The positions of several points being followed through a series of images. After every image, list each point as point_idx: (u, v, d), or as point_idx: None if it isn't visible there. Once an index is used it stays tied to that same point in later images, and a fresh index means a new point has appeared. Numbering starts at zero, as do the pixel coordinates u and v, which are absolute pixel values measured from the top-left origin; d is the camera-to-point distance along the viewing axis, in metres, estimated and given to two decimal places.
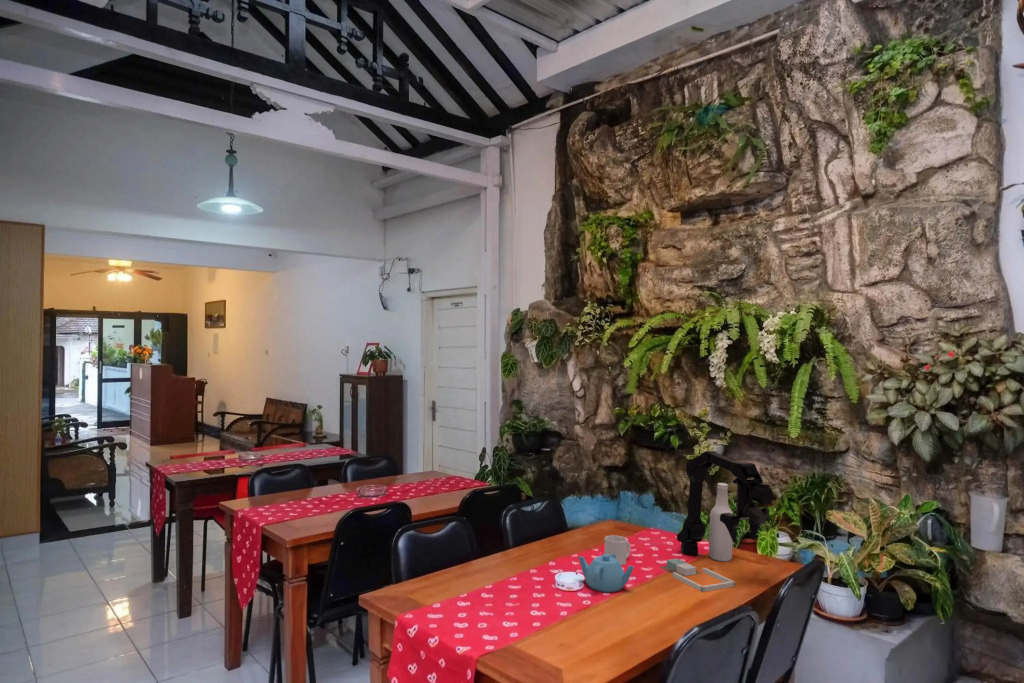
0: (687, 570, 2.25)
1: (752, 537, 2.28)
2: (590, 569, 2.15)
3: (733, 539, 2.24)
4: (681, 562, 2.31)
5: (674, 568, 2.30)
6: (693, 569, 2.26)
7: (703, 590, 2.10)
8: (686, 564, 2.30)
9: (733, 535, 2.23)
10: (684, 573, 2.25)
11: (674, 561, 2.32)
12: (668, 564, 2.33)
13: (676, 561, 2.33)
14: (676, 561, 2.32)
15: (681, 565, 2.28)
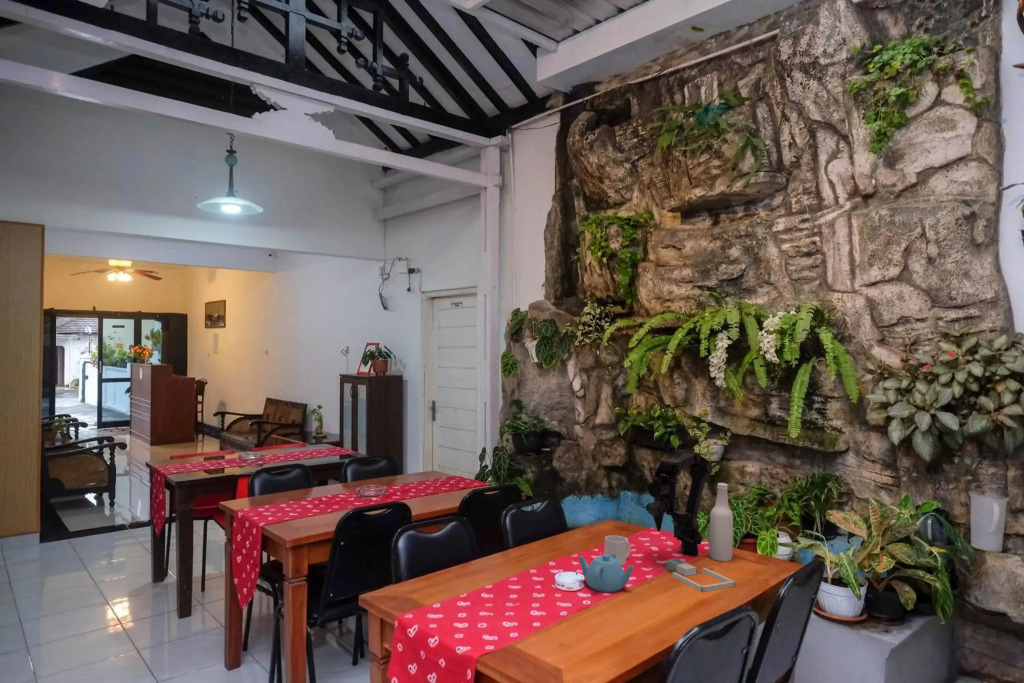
0: (687, 570, 2.25)
1: None
2: (590, 569, 2.15)
3: None
4: (681, 562, 2.31)
5: (674, 568, 2.30)
6: (693, 569, 2.26)
7: (703, 590, 2.10)
8: (686, 564, 2.30)
9: None
10: (684, 573, 2.25)
11: (674, 561, 2.32)
12: (668, 564, 2.33)
13: (676, 561, 2.33)
14: (676, 561, 2.32)
15: (681, 565, 2.28)
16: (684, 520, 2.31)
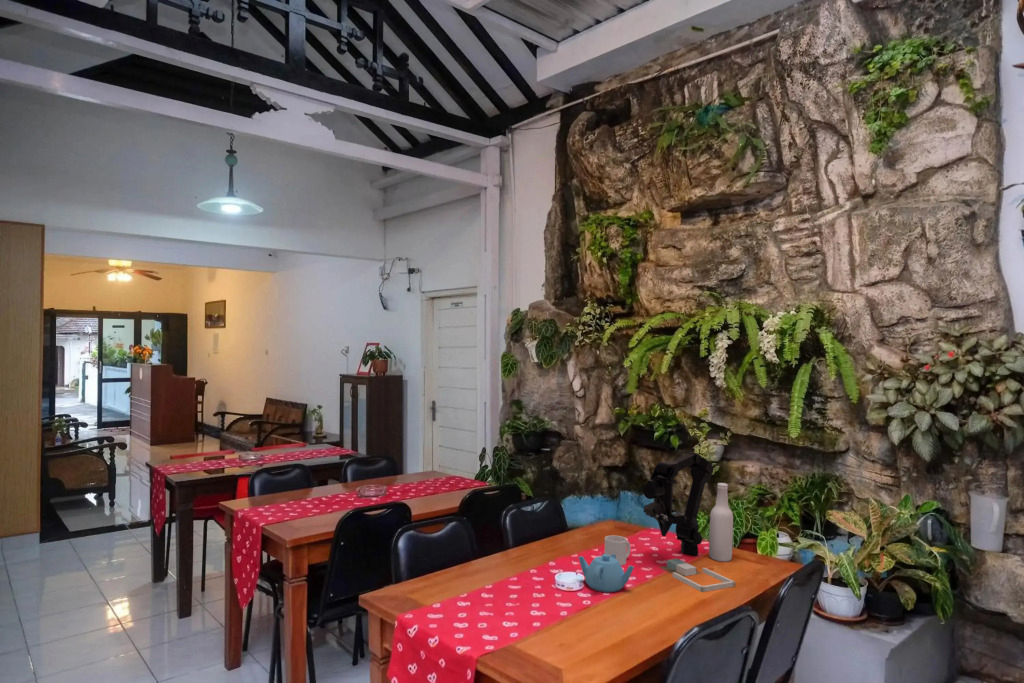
0: (687, 570, 2.25)
1: None
2: (590, 569, 2.15)
3: None
4: (681, 562, 2.31)
5: (674, 568, 2.30)
6: (693, 569, 2.26)
7: (703, 590, 2.10)
8: (686, 564, 2.30)
9: None
10: (684, 573, 2.25)
11: (674, 561, 2.32)
12: (668, 564, 2.33)
13: (676, 561, 2.33)
14: (676, 561, 2.32)
15: (681, 565, 2.28)
16: (679, 522, 2.31)
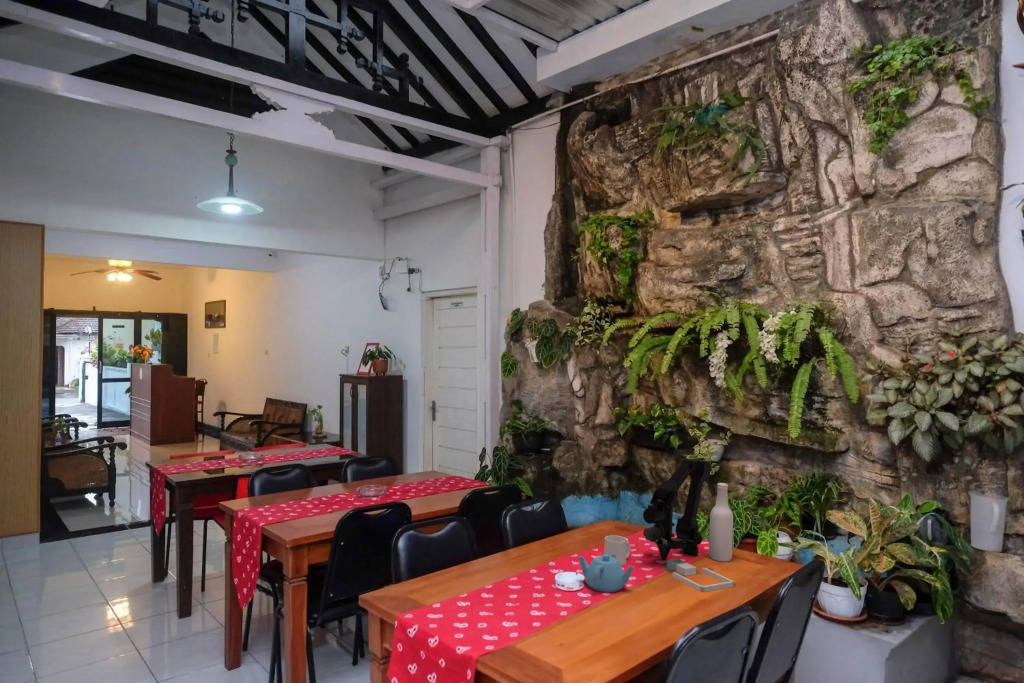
0: (687, 570, 2.25)
1: None
2: (590, 569, 2.15)
3: None
4: (681, 562, 2.31)
5: (674, 568, 2.30)
6: (693, 569, 2.26)
7: (703, 590, 2.10)
8: (686, 564, 2.30)
9: None
10: (684, 573, 2.25)
11: (674, 561, 2.32)
12: (668, 564, 2.33)
13: (676, 561, 2.33)
14: (676, 561, 2.32)
15: (681, 565, 2.28)
16: (679, 547, 2.31)
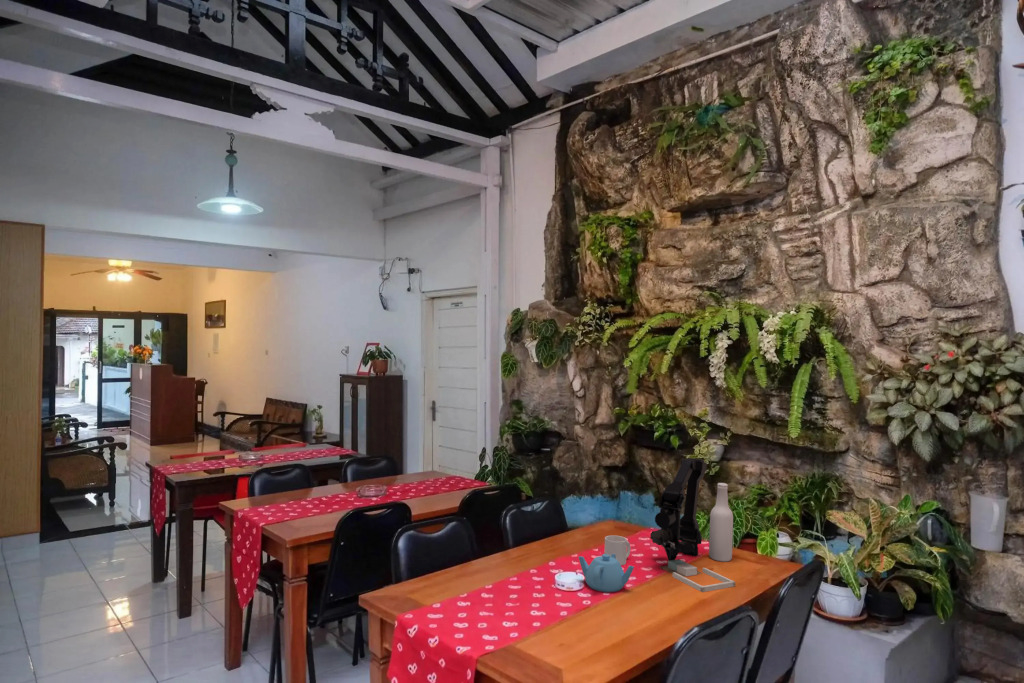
0: (688, 570, 2.25)
1: None
2: (590, 569, 2.15)
3: None
4: (682, 563, 2.31)
5: (675, 569, 2.29)
6: (694, 569, 2.26)
7: (703, 590, 2.10)
8: (687, 564, 2.29)
9: None
10: (685, 573, 2.25)
11: (675, 562, 2.32)
12: (669, 565, 2.33)
13: (677, 561, 2.32)
14: (677, 562, 2.32)
15: (682, 565, 2.28)
16: (687, 551, 2.27)
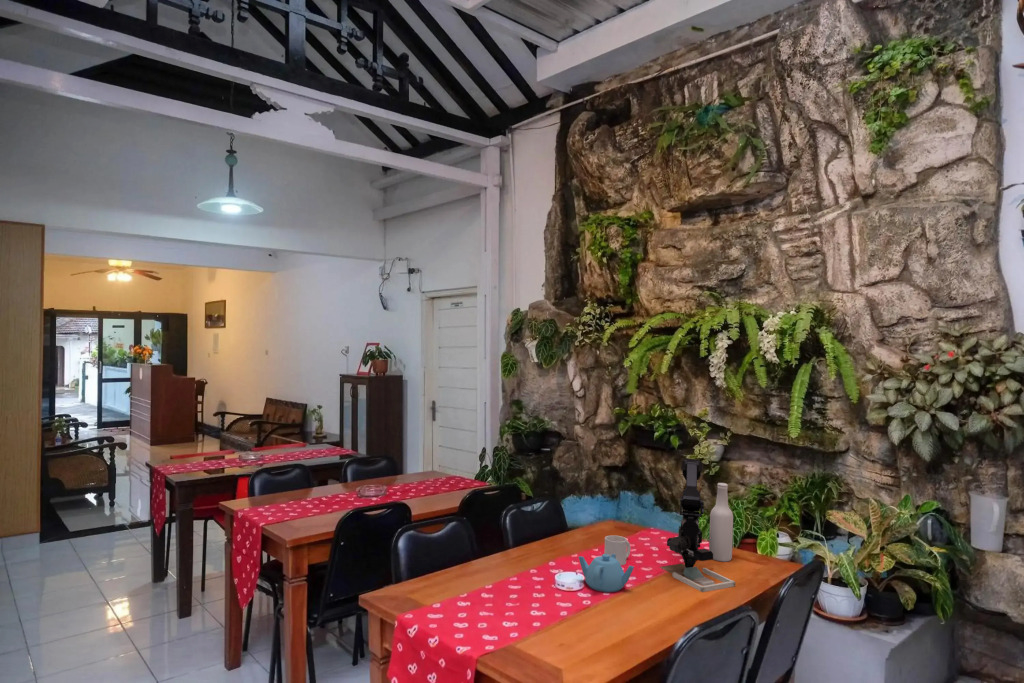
0: (705, 584, 2.16)
1: None
2: (590, 569, 2.15)
3: None
4: (698, 576, 2.22)
5: None
6: (711, 584, 2.17)
7: (703, 590, 2.10)
8: (704, 578, 2.21)
9: None
10: None
11: (692, 573, 2.23)
12: (685, 572, 2.24)
13: (694, 572, 2.24)
14: (694, 573, 2.23)
15: (699, 579, 2.20)
16: (706, 559, 2.18)
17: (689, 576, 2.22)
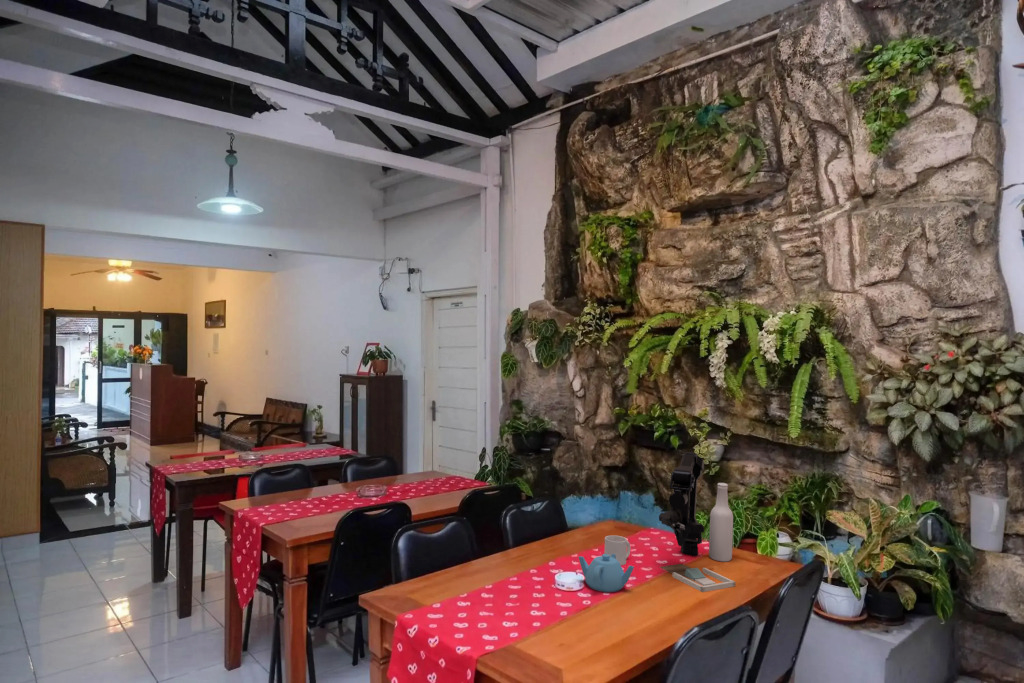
0: None
1: None
2: (590, 569, 2.15)
3: None
4: (700, 576, 2.22)
5: None
6: None
7: (703, 590, 2.10)
8: (706, 579, 2.20)
9: None
10: None
11: (693, 573, 2.23)
12: (686, 573, 2.24)
13: (695, 572, 2.24)
14: (695, 573, 2.23)
15: (700, 580, 2.19)
16: (697, 531, 2.23)
17: (690, 576, 2.22)
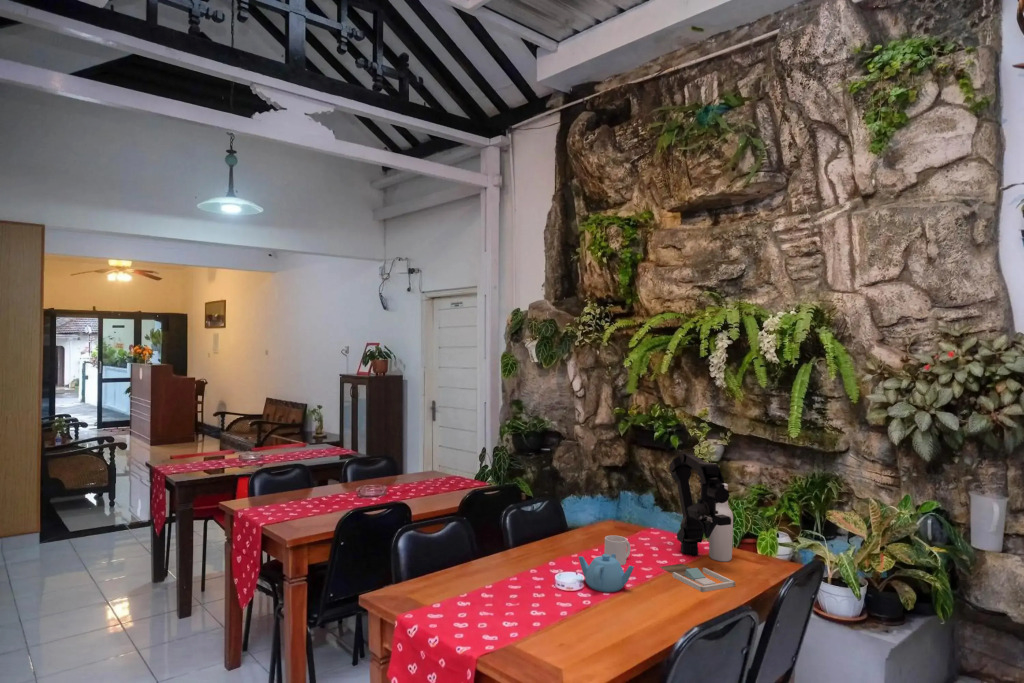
0: None
1: None
2: (590, 569, 2.15)
3: None
4: (700, 576, 2.22)
5: None
6: None
7: (703, 590, 2.10)
8: (705, 579, 2.20)
9: None
10: None
11: (693, 573, 2.23)
12: (686, 573, 2.24)
13: (695, 572, 2.24)
14: (695, 573, 2.23)
15: (700, 580, 2.19)
16: (724, 524, 2.29)
17: (690, 576, 2.22)
